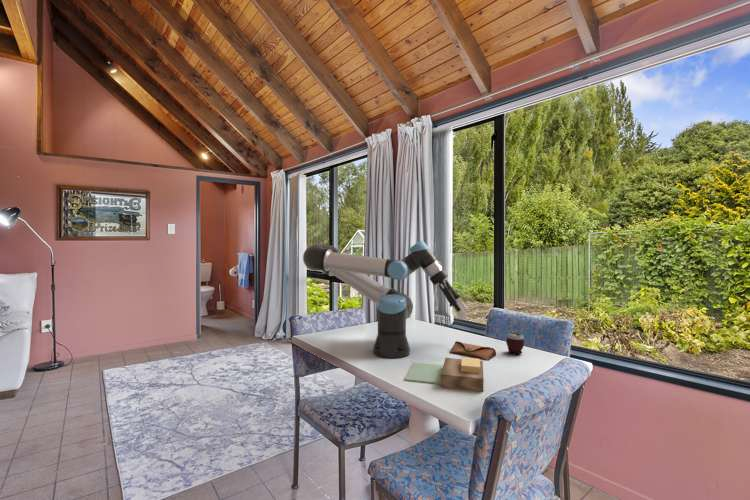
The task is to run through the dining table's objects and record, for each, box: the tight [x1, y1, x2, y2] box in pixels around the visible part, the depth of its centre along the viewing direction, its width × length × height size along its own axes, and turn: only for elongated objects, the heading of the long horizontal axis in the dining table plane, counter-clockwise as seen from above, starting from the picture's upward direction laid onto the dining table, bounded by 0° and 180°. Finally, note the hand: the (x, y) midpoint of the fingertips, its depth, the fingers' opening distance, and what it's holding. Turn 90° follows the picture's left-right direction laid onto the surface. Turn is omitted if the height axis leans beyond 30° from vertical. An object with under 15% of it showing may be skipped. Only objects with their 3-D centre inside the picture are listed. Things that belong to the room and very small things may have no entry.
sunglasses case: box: [448, 340, 497, 362], centre depth 155 cm, size 18×7×7 cm, turn 55°
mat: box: [404, 361, 444, 385], centre depth 132 cm, size 12×18×1 cm, turn 165°
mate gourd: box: [506, 318, 531, 356], centre depth 157 cm, size 8×8×15 cm
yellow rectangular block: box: [461, 356, 481, 373], centre depth 126 cm, size 6×9×2 cm, turn 165°
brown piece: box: [440, 357, 484, 392], centre depth 126 cm, size 13×18×4 cm
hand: (464, 314), depth 160 cm, fingers open, 13 cm apart
